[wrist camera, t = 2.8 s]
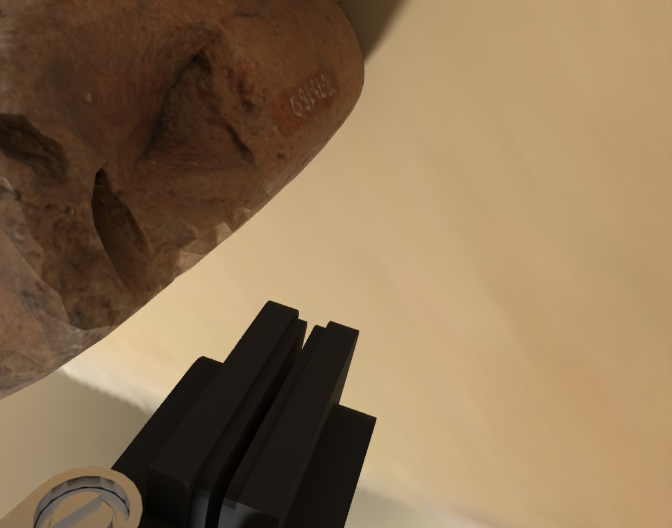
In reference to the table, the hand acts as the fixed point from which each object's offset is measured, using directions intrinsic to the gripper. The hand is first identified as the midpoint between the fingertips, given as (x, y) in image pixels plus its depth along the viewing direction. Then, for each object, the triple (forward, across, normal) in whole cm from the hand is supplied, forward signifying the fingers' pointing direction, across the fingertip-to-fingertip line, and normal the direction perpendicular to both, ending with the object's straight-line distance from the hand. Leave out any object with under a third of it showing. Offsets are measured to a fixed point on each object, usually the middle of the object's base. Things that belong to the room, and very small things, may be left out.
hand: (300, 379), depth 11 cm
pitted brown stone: (+19, +8, 0) cm, 21 cm away
